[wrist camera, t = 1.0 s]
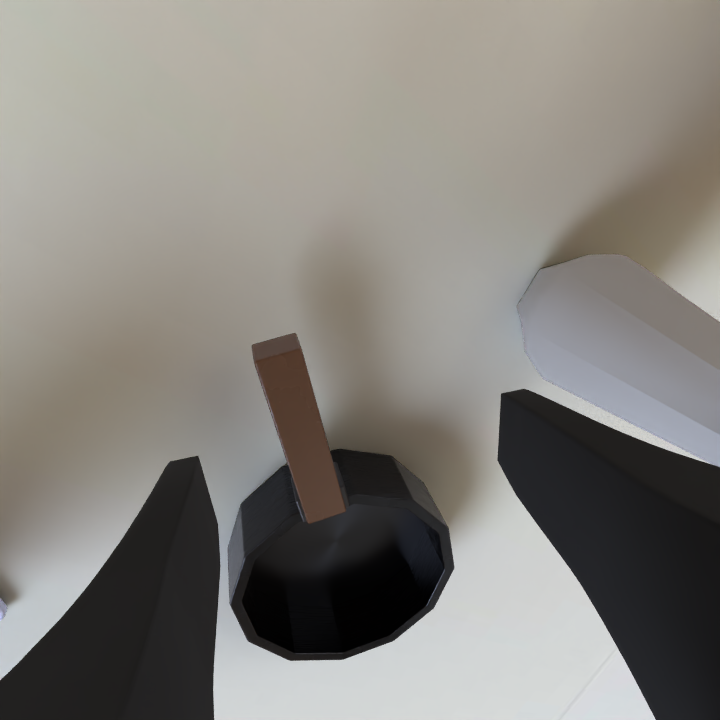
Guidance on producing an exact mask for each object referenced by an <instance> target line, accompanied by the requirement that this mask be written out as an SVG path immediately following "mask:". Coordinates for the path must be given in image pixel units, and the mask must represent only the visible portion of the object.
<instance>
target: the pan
mask: <svg viewBox="0 0 720 720" xmlns="http://www.w3.org/2000/svg"><path fill="white" fill-rule="evenodd" d="M252 353H253V359H254V364H255V367H256V370H257V373H258V376H259V379H260V382H261V385H262V388H263V391H264V394H265V397H266V400H267V403H268V406H269V409H270V412H271V415H272V418H273V421H274V424H275V427H276V430H277V433H278V436H279V439H280V442H281V445H282V448H283V451H284V454H285V457H286V460H287V463H288V465H286V466H283V467H281V468H280V469H279V470H278V471H277V472H276V473H275V474H274V475H273V476H271V477H270V478H269V479H268V480H267V481H266V482H265V483H264V484H263V485H262V486H260V487H259V488H258V489H257V490H256V491H255V492H254V493H253V494H252V495H250V496H249V497H248V498H247V499H246V500H245V501H244V502H243V503H242V504H241V505H240V508H239V512H238V515H237V518H236V522H235V525H234V529H233V532H232V535H231V539H230V542H229V545H228V572H229V600H230V606H231V608H232V610H233V612H234V614H235V616H236V618H237V620H238V622H239V624H240V626H241V628H242V630H243V632H244V634H245V636H246V638H247V640H248V641H249V642H250V643H253V644H255V645H257V646H259V647H261V648H263V649H266V650H268V651H270V652H272V653H274V654H276V655H279V656H281V657H283V658H285V659H287V660H290V661H300V660H343V659H346V658H349V657H351V656H354V655H357V654H359V653H362V652H365V651H367V650H370V649H373V648H376V647H378V646H381V645H384V644H386V643H389V642H392V641H393V640H395V639H396V638H398V637H399V636H400V635H401V634H403V633H404V632H405V631H406V630H407V629H409V628H410V627H411V626H412V625H414V624H415V623H416V622H417V621H419V620H420V619H421V618H422V617H424V616H425V615H426V614H427V613H428V612H430V611H431V610H432V609H433V608H434V607H435V605H436V603H437V601H438V599H439V597H440V595H441V593H442V591H443V589H444V587H445V585H446V583H447V581H448V579H449V578H450V576H451V574H452V572H453V570H454V561H453V555H452V548H451V541H450V534H449V528H448V526H447V525H446V523H445V521H444V519H443V517H442V515H441V514H440V512H439V510H438V508H437V506H436V504H435V503H434V501H433V499H432V497H431V495H430V493H429V492H428V490H427V488H426V486H425V484H424V483H423V482H422V481H421V480H420V479H418V478H417V477H416V476H415V475H414V474H412V473H411V472H410V471H409V470H408V469H406V468H405V467H404V466H403V465H402V464H400V463H399V462H398V461H397V460H396V459H395V458H393V457H392V456H388V455H381V454H373V453H366V452H358V451H351V450H343V449H337V450H334V451H331V452H330V449H329V446H328V442H327V438H326V435H325V431H324V428H323V424H322V420H321V417H320V413H319V410H318V406H317V402H316V399H315V395H314V392H313V388H312V384H311V381H310V377H309V374H308V370H307V366H306V363H305V359H304V356H303V352H302V349H301V346H300V343H299V340H298V337H297V334H296V333H292V334H288V335H285V336H281V337H278V338H274V339H271V340H267V341H264V342H260V343H256V344H253V345H252Z"/></svg>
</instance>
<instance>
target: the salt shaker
mask: <svg viewBox="0 0 720 720" xmlns="http://www.w3.org/2000/svg"><path fill="white" fill-rule="evenodd" d="M517 309H518V312H519V316H520V319H521V323H522V331H523V339H524V348H525V352H526V354H527V355H528V357H529V359H530V360H531V362H532V364H533V365H534V367H535V368H536V370H537V372H538V373H539V374H540V376H541V377H542V378H543V379H544V380H546V381H548V382H550V383H552V384H554V385H556V386H558V387H560V388H562V389H564V390H566V391H568V392H570V393H572V394H574V395H576V396H578V397H580V398H582V399H584V400H586V401H588V402H590V403H592V404H594V405H596V406H598V407H600V408H602V409H604V410H606V411H608V412H610V413H612V414H614V415H616V416H617V417H619V418H621V419H623V420H625V421H627V422H629V423H631V424H633V425H635V426H637V427H639V428H641V429H643V430H645V431H647V432H649V433H651V434H653V435H655V436H657V437H659V438H661V439H663V440H665V441H667V442H669V443H671V444H673V445H675V446H677V447H679V448H681V449H683V450H685V451H687V452H689V453H691V454H693V455H695V456H697V457H699V458H701V459H703V460H705V461H707V462H709V463H711V464H713V465H715V466H718V467H720V322H719V321H717V320H716V319H715V318H713V317H712V316H710V315H709V314H708V313H706V312H705V311H703V310H702V309H700V308H699V307H698V306H696V305H695V304H693V303H692V302H691V301H689V300H688V299H686V298H685V297H683V296H682V295H681V294H679V293H678V292H677V291H675V290H674V289H673V288H671V287H670V286H669V285H667V284H666V283H665V282H663V281H662V280H661V279H659V278H658V277H657V276H655V275H654V274H653V273H651V272H650V271H649V270H647V269H646V268H644V267H643V266H641V265H640V264H638V263H636V262H635V261H633V260H632V259H630V258H629V257H627V256H625V255H619V254H598V255H585V256H582V257H579V258H576V259H573V260H570V261H567V262H564V263H561V264H557V265H554V266H550V267H547V268H543V269H540V270H539V271H538V273H537V275H536V276H535V278H534V279H533V281H532V283H531V284H530V286H529V287H528V289H527V291H526V292H525V294H524V295H523V297H522V299H521V300H520V302H519V303H518V305H517Z"/></svg>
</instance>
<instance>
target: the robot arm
mask: <svg viewBox="0 0 720 720" xmlns="http://www.w3.org/2000/svg"><path fill="white" fill-rule="evenodd" d="M498 462H499V464H500V466H501V468H502V470H503V472H504V473H505V475H506V477H507V479H508V481H509V483H510V485H511V486H512V488H513V490H514V492H515V493H516V495H517V497H518V498H519V499H520V501H521V502H522V504H523V505H524V506H525V508H526V509H527V511H528V512H529V513H530V515H531V516H532V517H533V519H534V520H535V522H536V523H537V524H538V526H539V527H540V528H541V530H542V531H543V532H544V534H545V535H546V536H547V538H548V539H549V541H550V542H551V543H552V545H553V546H554V547H555V549H556V550H557V551H558V553H559V554H560V555H561V557H562V558H563V560H564V561H565V562H566V564H567V565H568V566H569V568H570V569H571V571H572V572H573V573H574V575H575V576H576V578H577V579H578V581H579V582H580V584H581V585H582V587H583V589H584V590H585V592H586V594H587V595H588V597H589V599H590V600H591V602H592V604H593V605H594V607H595V609H596V610H597V612H598V614H599V616H600V617H601V619H602V621H603V622H604V624H605V626H606V628H607V629H608V631H609V633H610V635H611V637H612V638H613V640H614V642H615V644H616V645H617V647H618V649H619V651H620V653H621V654H622V656H623V658H624V660H625V662H626V663H627V665H628V667H629V669H630V671H631V673H632V675H633V677H634V679H635V680H636V682H637V684H638V686H639V688H640V690H641V692H642V694H643V696H644V698H645V700H646V702H647V703H648V705H649V707H650V709H651V711H652V713H653V715H654V717H655V719H656V720H720V467H718V466H715V465H712V464H708V463H705V462H701V461H698V460H695V459H692V458H689V457H686V456H683V455H680V454H677V453H674V452H671V451H668V450H665V449H663V448H660V447H657V446H654V445H652V444H649V443H647V442H644V441H642V440H639V439H637V438H634V437H632V436H629V435H627V434H624V433H622V432H620V431H617V430H615V429H613V428H610V427H608V426H606V425H603V424H601V423H599V422H597V421H595V420H592V419H590V418H588V417H586V416H584V415H582V414H579V413H577V412H575V411H573V410H571V409H569V408H567V407H565V406H562V405H560V404H558V403H556V402H554V401H552V400H550V399H547V398H545V397H543V396H541V395H539V394H536V393H534V392H531V391H529V390H526V389H521V390H516V391H511V392H507V393H502V394H501V408H500V426H499V445H498ZM219 579H220V551H219V534H218V523H217V519H216V516H215V512H214V509H213V505H212V502H211V498H210V495H209V491H208V488H207V485H206V481H205V478H204V474H203V471H202V467H201V464H200V460H199V457H198V456H195V457H190V458H185V459H180V460H175V461H170V462H169V463H168V465H167V466H166V467H165V469H164V471H163V473H162V474H161V476H160V478H159V480H158V481H157V483H156V485H155V487H154V488H153V490H152V492H151V494H150V495H149V497H148V499H147V500H146V502H145V504H144V505H143V507H142V509H141V510H140V512H139V513H138V515H137V517H136V518H135V520H134V521H133V523H132V524H131V526H130V528H129V529H128V531H127V532H126V534H125V535H124V537H123V538H122V540H121V541H120V543H119V544H118V546H117V547H116V548H115V550H114V551H113V553H112V554H111V555H110V557H109V558H108V560H107V561H106V562H105V564H104V565H103V567H102V568H101V569H100V571H99V572H98V574H97V575H96V576H95V577H94V579H93V580H92V581H91V583H90V584H89V585H88V586H87V588H86V589H85V590H84V591H83V593H82V594H81V595H80V596H79V598H78V599H77V600H76V601H75V602H74V604H73V605H72V606H71V607H70V608H69V610H68V611H67V612H66V613H65V614H64V615H63V616H62V618H61V619H60V620H59V621H58V622H57V623H56V624H55V625H54V626H53V627H52V628H51V629H50V630H49V631H48V633H47V634H46V635H45V636H44V637H43V638H42V639H41V640H40V641H39V642H38V643H37V644H36V645H35V646H34V647H33V648H32V649H31V650H30V651H29V652H28V653H27V655H26V656H25V657H24V658H23V659H22V660H21V661H20V662H19V663H18V664H17V665H16V666H15V667H14V668H13V669H12V670H11V671H10V672H9V673H8V674H6V675H5V676H4V677H3V678H2V679H1V680H0V720H214V704H213V673H214V654H215V639H216V624H217V610H218V595H219ZM6 611H7V606H6V604H5V603H4V602H3V601H2V599H1V598H0V620H2V619H3V618H4V616H5V614H6Z"/></svg>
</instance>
